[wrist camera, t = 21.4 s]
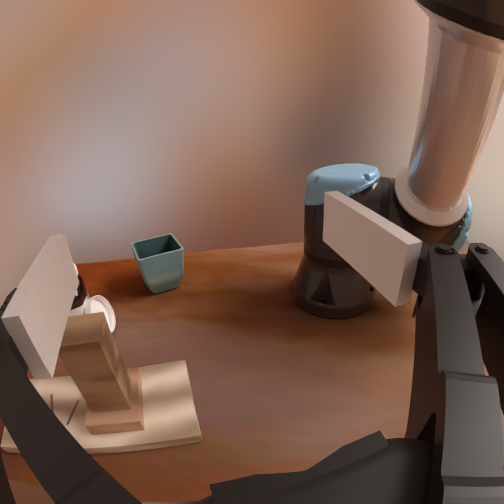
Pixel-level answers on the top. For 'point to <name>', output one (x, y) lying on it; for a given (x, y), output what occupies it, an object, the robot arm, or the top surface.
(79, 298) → the spread jar
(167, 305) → the top surface
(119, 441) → the plywood board
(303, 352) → the top surface
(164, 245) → the flower pot
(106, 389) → the block
